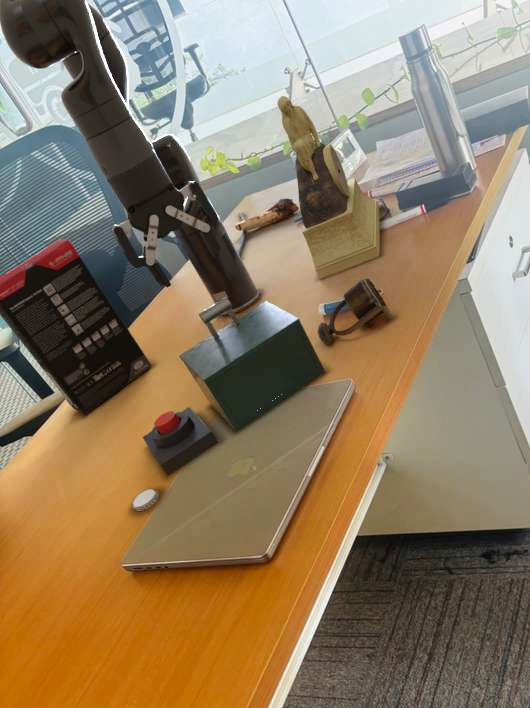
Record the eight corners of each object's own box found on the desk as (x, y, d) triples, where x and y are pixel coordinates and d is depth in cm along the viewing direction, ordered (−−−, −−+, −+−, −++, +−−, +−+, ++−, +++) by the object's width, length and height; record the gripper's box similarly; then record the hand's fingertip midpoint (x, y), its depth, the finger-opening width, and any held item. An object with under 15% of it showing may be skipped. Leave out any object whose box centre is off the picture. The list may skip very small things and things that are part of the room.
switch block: (150, 447, 112) (135, 428, 110) (196, 416, 114) (183, 397, 111) (168, 476, 103) (153, 456, 100) (218, 442, 104) (205, 422, 102)
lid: (181, 359, 110) (162, 331, 106) (268, 304, 113) (252, 275, 109) (206, 384, 99) (186, 353, 96) (301, 323, 102) (285, 290, 99)
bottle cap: (146, 490, 102) (144, 487, 101) (163, 492, 99) (161, 489, 99) (129, 509, 100) (126, 506, 99) (146, 512, 97) (143, 509, 97)
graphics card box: (141, 360, 142) (56, 237, 126) (156, 365, 137) (69, 237, 121) (74, 411, 136) (-25, 288, 119) (87, 417, 131) (-15, 291, 114)
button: (157, 429, 107) (151, 421, 106) (177, 417, 108) (171, 408, 107) (163, 437, 104) (157, 429, 103) (183, 424, 105) (177, 415, 104)
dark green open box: (211, 405, 114) (183, 361, 109) (294, 351, 118) (270, 306, 112) (236, 431, 105) (206, 384, 99) (325, 372, 108) (301, 323, 102)
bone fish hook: (304, 204, 182) (245, 226, 187) (297, 187, 179) (237, 209, 184) (298, 217, 175) (236, 238, 180) (290, 198, 172) (228, 221, 177)
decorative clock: (379, 256, 134) (315, 93, 116) (319, 279, 138) (248, 124, 119) (379, 207, 156) (325, 63, 137) (327, 228, 159) (267, 90, 140)
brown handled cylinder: (377, 305, 105) (384, 262, 111) (301, 318, 109) (311, 277, 115) (391, 339, 111) (397, 297, 116) (318, 350, 115) (327, 309, 120)
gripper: (167, 136, 97) (224, 243, 107) (78, 186, 94) (145, 291, 104) (180, 137, 91) (240, 250, 101) (87, 189, 89) (157, 300, 98)
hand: (192, 270), depth 103 cm, fingers open, 8 cm apart
